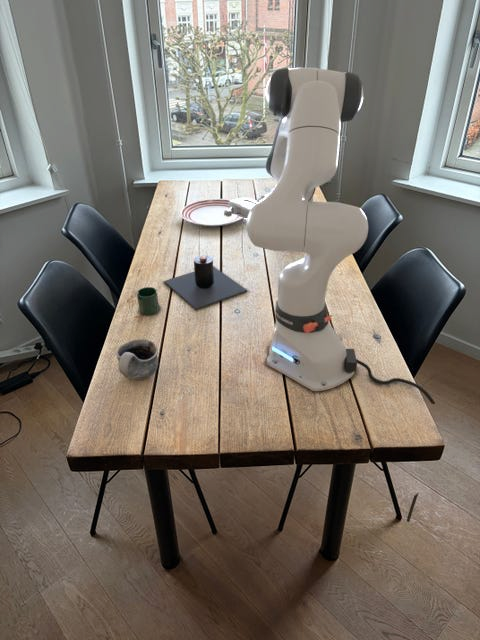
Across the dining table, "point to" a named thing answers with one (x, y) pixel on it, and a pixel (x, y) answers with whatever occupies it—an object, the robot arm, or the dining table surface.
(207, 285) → the black canister with knob
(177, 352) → the dining table surface
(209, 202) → the dinner plate
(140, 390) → the dining table surface
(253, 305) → the dining table surface
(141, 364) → the mug
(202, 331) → the dining table surface
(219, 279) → the mat
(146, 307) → the glass
